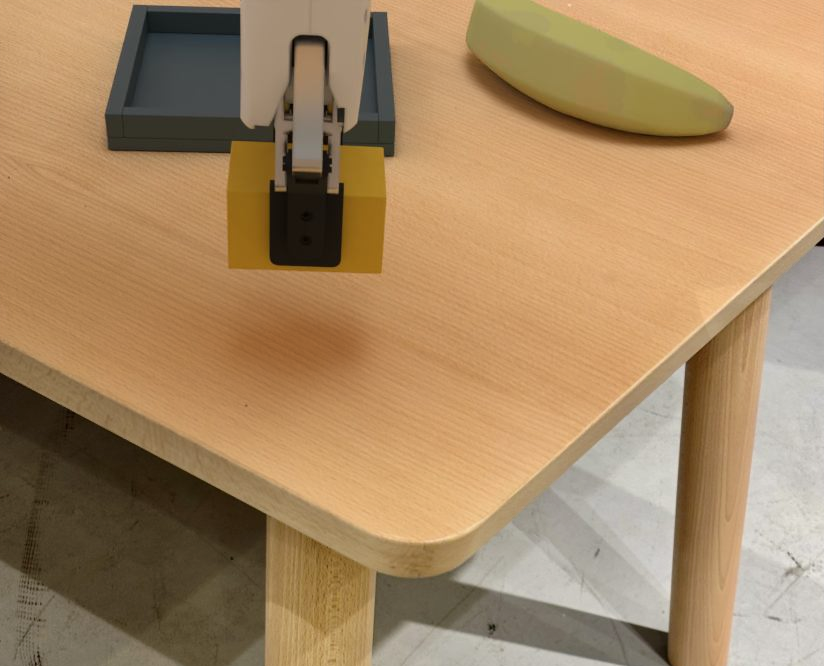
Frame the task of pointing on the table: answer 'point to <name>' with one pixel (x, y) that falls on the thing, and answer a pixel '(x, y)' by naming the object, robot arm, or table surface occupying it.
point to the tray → (216, 84)
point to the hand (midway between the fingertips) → (306, 228)
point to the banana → (591, 72)
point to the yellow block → (252, 208)
